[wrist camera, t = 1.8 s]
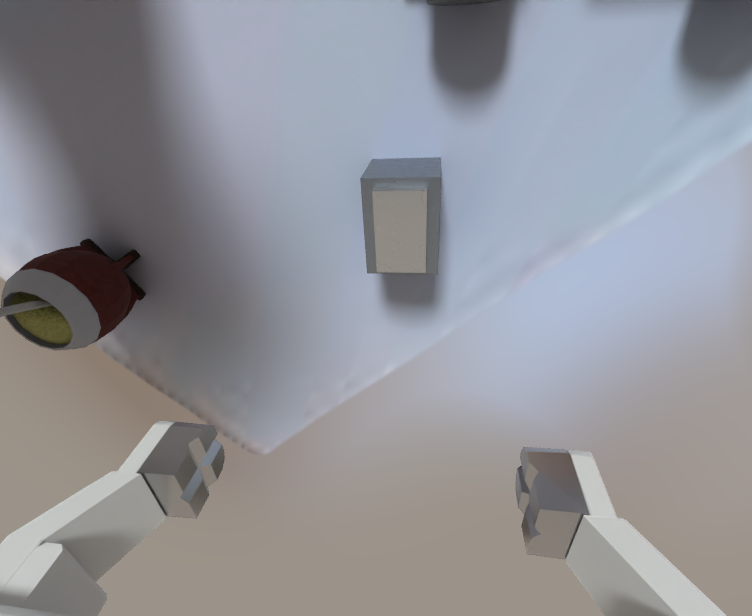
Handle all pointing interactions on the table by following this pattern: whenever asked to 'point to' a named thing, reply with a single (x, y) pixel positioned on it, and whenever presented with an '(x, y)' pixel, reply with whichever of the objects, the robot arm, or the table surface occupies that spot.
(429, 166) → the two-tone metal block
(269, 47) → the table surface
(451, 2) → the chassis
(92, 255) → the mate gourd
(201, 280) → the table surface
